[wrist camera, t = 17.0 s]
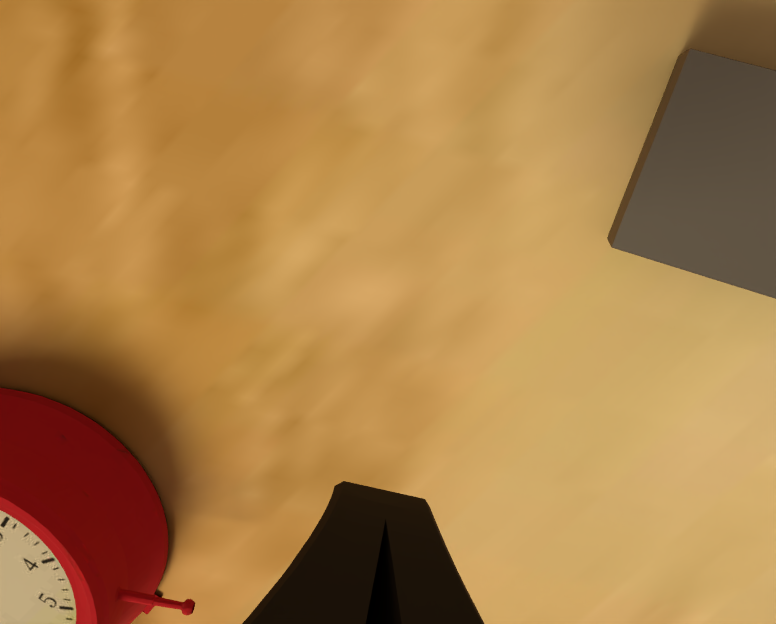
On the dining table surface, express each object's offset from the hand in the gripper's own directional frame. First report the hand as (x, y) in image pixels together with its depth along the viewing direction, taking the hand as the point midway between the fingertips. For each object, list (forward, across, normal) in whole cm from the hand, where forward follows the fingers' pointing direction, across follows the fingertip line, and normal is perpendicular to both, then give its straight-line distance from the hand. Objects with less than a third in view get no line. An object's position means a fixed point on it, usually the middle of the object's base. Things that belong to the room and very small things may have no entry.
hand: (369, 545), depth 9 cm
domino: (+10, -5, -6) cm, 13 cm away
